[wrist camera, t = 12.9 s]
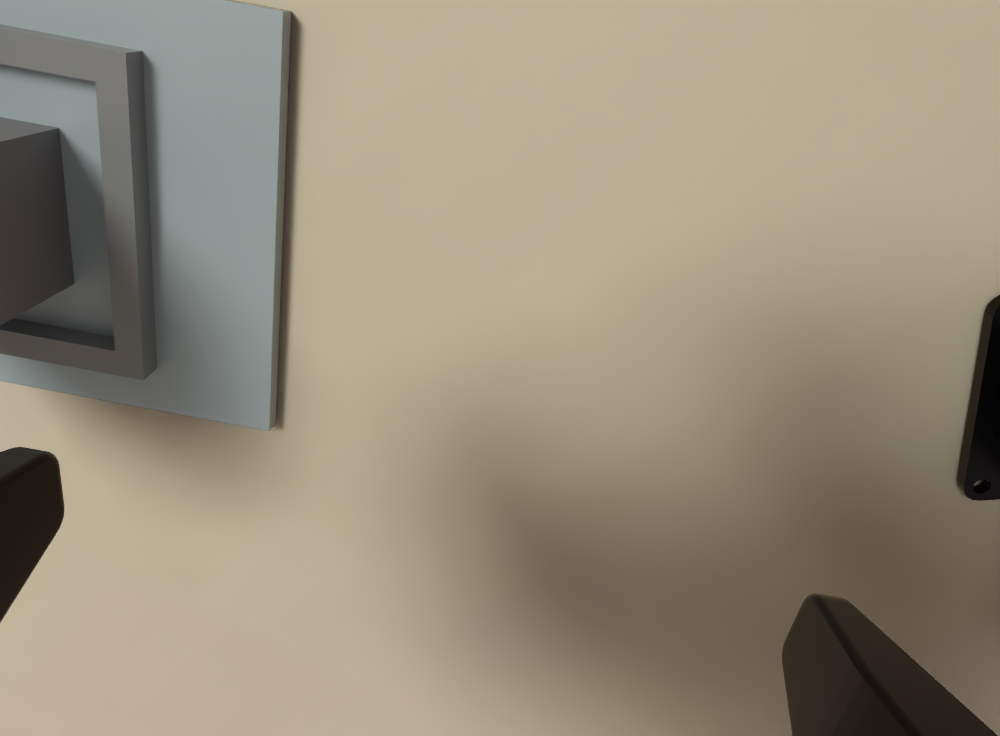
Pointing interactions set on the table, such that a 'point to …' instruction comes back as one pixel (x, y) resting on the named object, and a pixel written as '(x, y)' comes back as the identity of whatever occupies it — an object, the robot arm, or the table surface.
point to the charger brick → (32, 217)
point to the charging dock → (157, 200)
